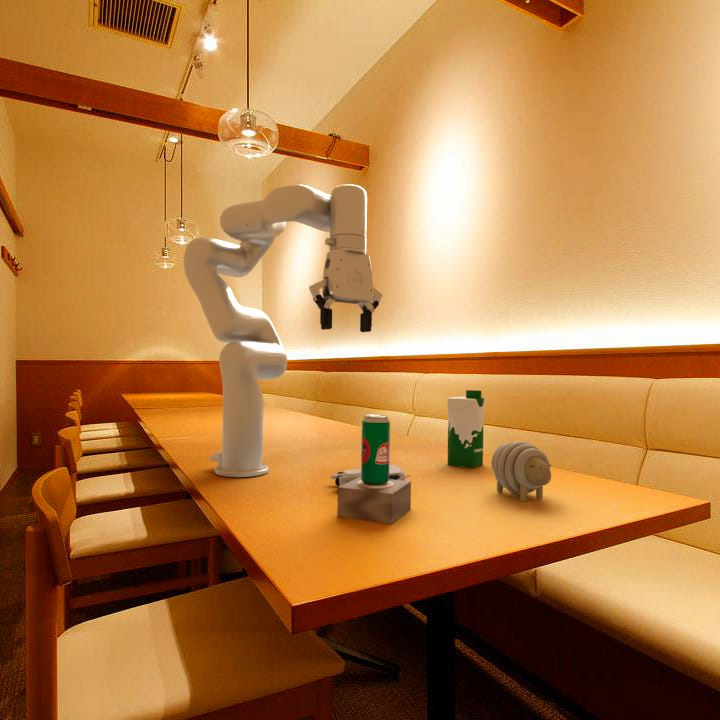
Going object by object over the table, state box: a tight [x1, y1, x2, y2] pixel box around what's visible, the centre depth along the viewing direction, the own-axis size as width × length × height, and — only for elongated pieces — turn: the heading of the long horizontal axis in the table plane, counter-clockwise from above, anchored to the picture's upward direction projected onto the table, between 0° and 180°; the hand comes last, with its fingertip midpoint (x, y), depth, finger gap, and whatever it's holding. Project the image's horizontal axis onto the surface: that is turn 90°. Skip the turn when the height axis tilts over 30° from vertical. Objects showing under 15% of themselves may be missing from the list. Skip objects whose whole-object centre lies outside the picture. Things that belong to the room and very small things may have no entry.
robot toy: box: [330, 463, 411, 488], centre depth 107 cm, size 12×4×15 cm
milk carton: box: [446, 389, 486, 469], centre depth 135 cm, size 9×9×20 cm
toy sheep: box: [491, 441, 552, 503], centre depth 104 cm, size 11×17×11 cm, turn 25°
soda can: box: [360, 414, 391, 486], centre depth 90 cm, size 5×5×12 cm
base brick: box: [336, 476, 412, 525], centre depth 90 cm, size 10×10×5 cm
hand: (346, 330), depth 103 cm, fingers open, 9 cm apart
